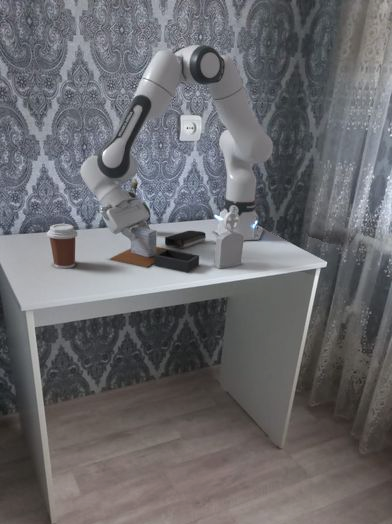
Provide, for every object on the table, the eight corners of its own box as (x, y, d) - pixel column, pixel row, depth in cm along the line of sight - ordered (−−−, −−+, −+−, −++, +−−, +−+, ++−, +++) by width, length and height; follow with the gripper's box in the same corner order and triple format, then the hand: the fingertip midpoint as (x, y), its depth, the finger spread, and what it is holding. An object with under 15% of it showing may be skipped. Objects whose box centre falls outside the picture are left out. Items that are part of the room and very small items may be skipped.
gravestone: (240, 264, 165) (246, 209, 156) (219, 268, 160) (223, 212, 151) (235, 261, 167) (240, 208, 158) (214, 266, 162) (218, 210, 153)
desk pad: (140, 244, 178) (140, 243, 177) (175, 251, 173) (175, 250, 173) (110, 259, 161) (110, 258, 161) (147, 267, 157) (147, 266, 157)
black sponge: (180, 251, 173) (181, 241, 172) (162, 246, 178) (162, 236, 176) (207, 242, 185) (208, 232, 183) (189, 237, 189) (190, 228, 188)
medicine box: (156, 255, 167) (157, 230, 163) (148, 258, 163) (148, 232, 159) (138, 250, 170) (138, 225, 166) (130, 253, 167) (130, 228, 163)
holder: (165, 258, 165) (166, 248, 164) (198, 265, 161) (199, 255, 160) (154, 265, 159) (154, 255, 157) (188, 272, 155) (188, 262, 153)
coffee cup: (47, 261, 157) (44, 223, 151) (76, 258, 160) (73, 222, 154) (52, 270, 150) (48, 231, 144) (82, 268, 153) (80, 229, 147)
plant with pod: (137, 237, 186) (137, 182, 176) (126, 229, 194) (125, 176, 185) (156, 235, 189) (157, 181, 179) (145, 227, 198) (145, 176, 188)
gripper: (103, 202, 153) (131, 238, 154) (137, 192, 169) (162, 224, 171) (92, 214, 157) (119, 249, 158) (126, 203, 173) (150, 235, 174)
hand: (141, 236), depth 164 cm, fingers open, 8 cm apart
